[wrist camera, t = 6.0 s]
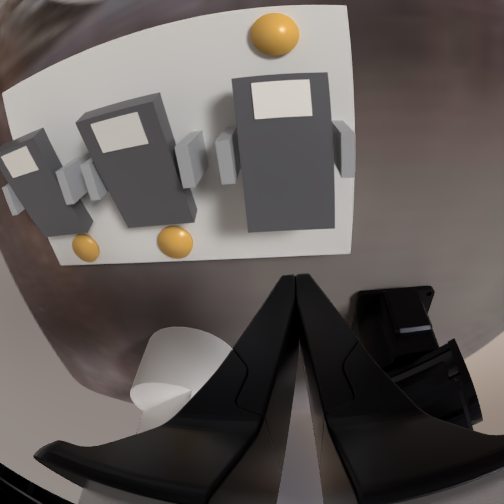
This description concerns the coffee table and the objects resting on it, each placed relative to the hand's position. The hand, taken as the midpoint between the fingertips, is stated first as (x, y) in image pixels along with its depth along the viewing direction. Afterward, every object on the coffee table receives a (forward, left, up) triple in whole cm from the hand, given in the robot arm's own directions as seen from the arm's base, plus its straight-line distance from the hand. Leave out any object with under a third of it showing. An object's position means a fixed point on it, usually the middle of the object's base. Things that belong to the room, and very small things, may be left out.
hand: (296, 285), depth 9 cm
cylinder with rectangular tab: (-18, +10, -10) cm, 23 cm away
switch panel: (+2, +7, -10) cm, 13 cm away
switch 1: (+2, +14, -6) cm, 16 cm away
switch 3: (+2, 0, -6) cm, 7 cm away
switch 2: (+2, +7, -6) cm, 10 cm away
